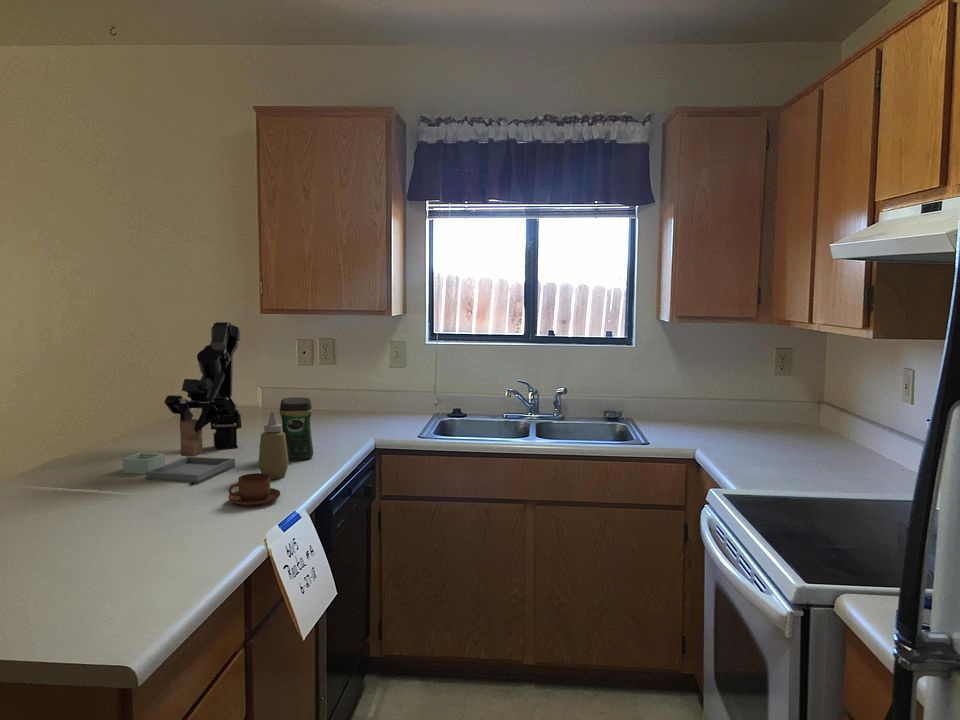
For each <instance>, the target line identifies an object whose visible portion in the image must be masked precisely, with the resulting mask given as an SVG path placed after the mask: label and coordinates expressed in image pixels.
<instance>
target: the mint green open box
mask: <svg viewBox="0 0 960 720" xmlns="http://www.w3.org/2000/svg"><path fill="white" fill-rule="evenodd" d="M163 465H166V456H165V453H156V452H138V453H136V454H132V455H128V456H127V457H124V458H122V470H123V471H122V473H123V474H124V473H125V474H135V475H137V474H139V475H140V474H141V475H142V474H143V475H146V472H148V471H150V470H153V469H155V468H158V467H161V466H163Z"/></svg>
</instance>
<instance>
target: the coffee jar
mask: <svg viewBox="0 0 960 720" xmlns="http://www.w3.org/2000/svg"><path fill="white" fill-rule="evenodd" d="M312 414H313V407H312V401H311V398H310V397H304V396H301V397H300V396H298V397H297V396H294V397H285V398H282V399H281V400H280V405H279V415H280V418H281V425H282V432H284V433H285V436H286V444H287V452H288V461H301V460H303V461H304V460H308V459H312V458H313V456H314V445H313V440H312V429H311V416H312Z"/></svg>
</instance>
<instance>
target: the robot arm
mask: <svg viewBox="0 0 960 720" xmlns="http://www.w3.org/2000/svg"><path fill="white" fill-rule="evenodd" d="M210 328H211V329H210V331H211V334H210V338H211V340H210V343H209V344H207V345H205V346H204V348H203V349H201V350H200V351H199V352H198V353H197V355H196V358H197V359H196V360H197V363H198V367H199V371H200V373H201V377H200V379H193V378H192V379H191V378H184V380H183V383H182V387H181V391H182V392H185V393H187V395H186V396H187V397H188V398H189V399H190V400H188V399H186V398H183V396H182V395H181V394H180V395H179V394H177V395H176V394H174V395H173V394H169V395H167V396H166V397H165V399H164V401H163V403H164V404H165V406H166V407H167V408H168V410H169V411H170V412H171V413H172V414H174V415H180V417H179V418H180V419H179V423H180V422H181V421H184V420H187V419H193V417H194V414H193V413H192V412H191V411H192V409H193V410H201V412H200V415H199V417H198V421H197V424H196V426H195V431H196V432H198V431H199V430H200V429H202V430H203V428H204V427H206V426H207V425H208V424H210V429H211V430H215V432H213V434H212V435H213V437H212V438H213V447H214V448H215V449H216V450H223V449H224V450H225V449H237V448H238V447H239V446H238V442H237V441H238V440H237V439H238V438H237V437H238V436H237V435H238V434H237V433H238V432H237V431H238V429H242V417H241V414H240V412H239V410H238V408H237V407H238V405H237V404H236V402H235V400H233V373H234V372H233V370H234V369H233V366H234V365H233V364H234V363H233V361H234V354H235V352H236V350H238V348H239V342H240V341H241V331H240V328H239V326H236V325H233V324H232V323H231V322H228V321H224V322H223V321H221V322H220V321H217V322H213V326H211V327H210Z"/></svg>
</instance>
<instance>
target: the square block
mask: <svg viewBox="0 0 960 720" xmlns="http://www.w3.org/2000/svg"><path fill="white" fill-rule="evenodd" d="M198 419H199V418H198ZM198 419H193V418H192V419H187V420H184V421H181V422H180V421H179V430H180V434H179V435H180V456H181V457H186V456H192V457H198V456H200V455H202V454H203V453H204V452H203V428H202V429H200V430H199V431H198V432H196V431H195V426H196V424H197V421H198Z"/></svg>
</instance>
